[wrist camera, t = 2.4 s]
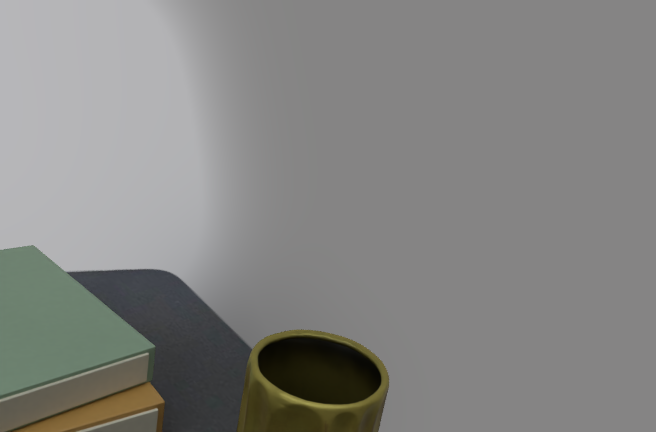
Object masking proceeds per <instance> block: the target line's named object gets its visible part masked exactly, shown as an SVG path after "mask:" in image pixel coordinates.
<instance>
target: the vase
mask: <svg viewBox="0 0 656 432" xmlns="http://www.w3.org/2000/svg"><path fill="white" fill-rule="evenodd" d="M388 388H389V376H388V372H387V370H386V368H385V366H384V364H383V363H382V361H381V360H380V359H379V358H378V357H377V356H376V355H375V354H373V353H372V352H371V351H370V350H368V349H367V348H366V347H364V346H362V345H361V344H359V343H357V342H355V341H353V340H350V339H348V338H345V337H342V336H338V335H334V334H330V333H326V332H321V331H313V330H290V331H284V332H281V333H277V334H273V335H270V336H267V337H265V338H264V339H262V340H261V341H259V342H258V343H257V344H256V345H255V347H254V348H253V350H252V352H251V354H250V357H249V360H248V364H247V368H246V375H245V383H244V390H243V396H242V402H241V408H240V414H239V421H238V427H237V432H378V430H379V426H380V421H381V416H382V413H383V408H384V404H385V400H386V396H387V392H388Z"/></svg>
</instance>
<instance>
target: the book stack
mask: <svg viewBox="0 0 656 432" xmlns="http://www.w3.org/2000/svg"><path fill="white" fill-rule="evenodd" d="M154 357H155V346H154V345H153V344H152V343H151V342H149V341H148V340H147V339H146V338H145V337H143V336H142V335H141V334H140V333H139V332H137V331H136V330H135V329H134V328H132V327H131V326H130V325H129V324H128V323H126V322H125V321H124V320H123V319H122V318H120V317H119V316H118V315H117V314H116V313H114V312H113V311H112V310H111V309H110V308H108V307H107V306H106V305H105V304H104V303H102V302H101V301H100V300H99V299H97V298H96V297H95V296H94V295H93V294H91V293H90V292H89V291H88V290H87V289H85V288H84V287H83V286H82V285H81V284H79V283H78V282H77V281H76V280H75V279H73V278H72V277H71V276H70V275H69V274H67V273H66V272H65V271H64V270H62V269H61V268H60V267H59V266H58V265H56V264H55V263H54V262H53V261H52V260H50V259H49V258H48V257H47V256H45V255H44V254H43V253H42V252H41V251H40V250H38V249H37V248H36V247H35V246H33V245H32V246H25V247H18V248H11V249H4V250H0V432H162V425H163V415H164V406H165V401H164V400H163V399H162V397H161V396H160V395H159V393H158V392H157V391H156V390H155V388H154V387H153V386H152V385H151V383H150V382H149V381H152V378H153V368H154Z"/></svg>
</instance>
